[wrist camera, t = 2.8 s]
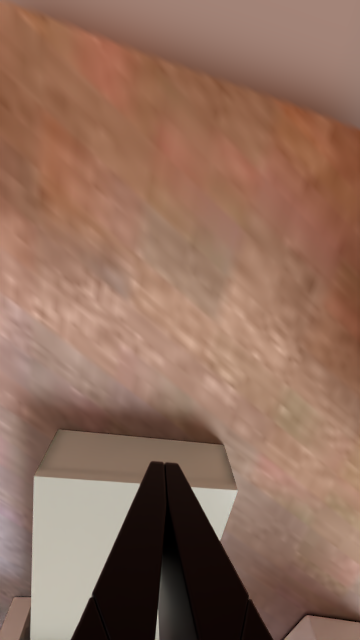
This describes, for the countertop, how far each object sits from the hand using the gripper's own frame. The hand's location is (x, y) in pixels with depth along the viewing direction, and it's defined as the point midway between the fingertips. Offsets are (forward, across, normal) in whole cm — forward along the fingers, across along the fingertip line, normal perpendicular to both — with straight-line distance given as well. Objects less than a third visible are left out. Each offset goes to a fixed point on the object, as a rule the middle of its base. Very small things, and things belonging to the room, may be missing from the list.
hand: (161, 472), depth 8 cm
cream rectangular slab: (+7, 0, +13) cm, 15 cm away
